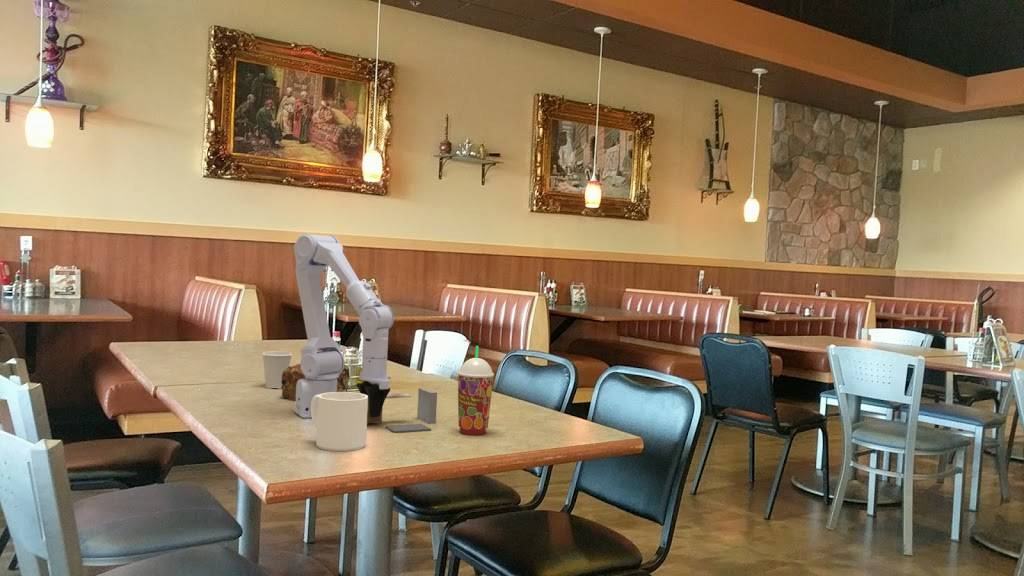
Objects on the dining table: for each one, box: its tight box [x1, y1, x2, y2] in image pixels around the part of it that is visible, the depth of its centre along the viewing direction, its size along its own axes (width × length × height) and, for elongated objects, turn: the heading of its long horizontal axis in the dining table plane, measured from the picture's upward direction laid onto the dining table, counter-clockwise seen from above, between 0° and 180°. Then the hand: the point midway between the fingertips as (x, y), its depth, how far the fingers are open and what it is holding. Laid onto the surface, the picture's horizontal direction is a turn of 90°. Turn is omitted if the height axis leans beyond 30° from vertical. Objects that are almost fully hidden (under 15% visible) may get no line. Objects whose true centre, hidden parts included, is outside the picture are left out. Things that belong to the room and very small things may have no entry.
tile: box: [416, 387, 438, 425], centre depth 189 cm, size 2×7×8 cm, turn 30°
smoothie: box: [457, 345, 495, 436], centre depth 179 cm, size 8×8×20 cm
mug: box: [311, 391, 368, 452], centre depth 161 cm, size 13×10×10 cm
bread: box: [280, 363, 351, 401], centre depth 215 cm, size 19×11×10 cm, turn 159°
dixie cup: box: [261, 350, 293, 389], centre depth 225 cm, size 8×8×10 cm
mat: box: [384, 423, 432, 434], centre depth 179 cm, size 9×6×1 cm, turn 120°
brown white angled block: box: [367, 392, 412, 424], centre depth 184 cm, size 11×4×6 cm, turn 120°
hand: (371, 414), depth 182 cm, fingers closed on brown white angled block, 4 cm apart
